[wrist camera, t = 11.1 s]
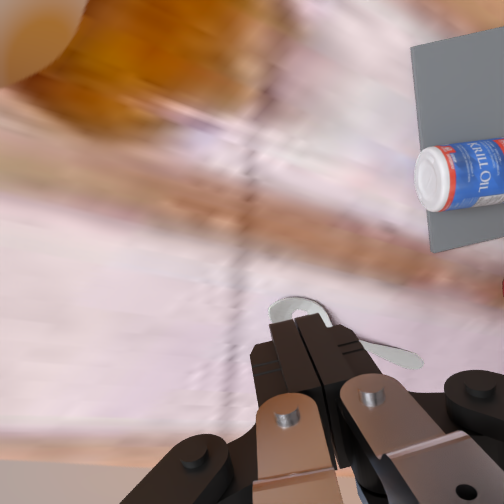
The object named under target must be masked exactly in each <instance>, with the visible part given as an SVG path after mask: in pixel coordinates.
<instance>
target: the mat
mask: <svg viewBox="0 0 504 504" xmlns="http://www.w3.org/2000/svg"><path fill="white" fill-rule="evenodd" d="M411 59H412V69H413V79H414V89H415V99H416V109H417V119H418V129H419V139H420V149H421V151H422V150H424V149H425V148H427V147H432V146H438V145H446V144H454V143H462V142H470V141H477V140H485V139H493V138H501V137H504V26H503V27H499V28H494V29H490V30H485V31H481V32H476V33H472V34H468V35H463V36H459V37H454V38H450V39H445V40H441V41H436V42H432V43H427V44H423V45H418V46H414V47H411ZM427 220H428V230H429V240H430V250H431V252H433V253H437V252H441V251H445V250H449V249H454V248H458V247H462V246H466V245H471V244H475V243H479V242H483V241H488V240H492V239H496V238H500V237H504V203H500V204H493V205H486V206H479V207H471V208H464V209H456V210H449V211H442V212H430V211H428V210H427Z"/></svg>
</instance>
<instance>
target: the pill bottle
mask: <svg viewBox="0 0 504 504" xmlns="http://www.w3.org/2000/svg"><path fill="white" fill-rule="evenodd" d="M414 183H415V189H416V193H417V196H418V198H419V200H420V202H421V204H422V205H423V207H424V208H425V209H426V210H428V211H430V212H442V211H449V210H456V209H464V208H471V207H479V206H486V205H493V204H500V203H504V137H501V138H493V139H485V140H477V141H470V142H462V143H454V144H446V145H438V146H432V147H427V148H425V149H424V150H422V151H421V153H420V154H419V156H418V158H417V161H416V164H415V171H414Z"/></svg>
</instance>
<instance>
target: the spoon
mask: <svg viewBox="0 0 504 504" xmlns="http://www.w3.org/2000/svg"><path fill="white" fill-rule="evenodd" d="M297 309H298V310H303V311H307V313H308V315H310V314H315V313H319V314H320V316H321V318H322V319H323V321H324V323H325V325H326V326H327V327H332V326H333V325H332V323H331V321H330V318H329V316H328V314H327V312H326V311H325V309H324V308H323V307H322V306H321V305H319V304H318V303H316V302H315V301H313V300H309V299H306V298H296V297H293V298H284V299H281V300H279V301H277V302H275V303H273V304H272V305H271V306H270V307H269V309H268V315H269V319H270V321H271V322H272V323H277V322H281V321H285V320H290V319H292V313H293V312H294V311H296V310H297ZM294 323H295V322H294ZM359 342H361V344H362V345H363V347H364V349H365V350H367V351H369V352H371V353H373V354H375V355H377V356H379V357H381V358H383V359H385V360H387V361H390V362H392V363H394V364H396V365H398V366H401V367H403V368H406V369H420V368H422V367H423V365H424V362H423V360H422V359H421V358H420V357H419V356H418V355H417V354H415V353H412V352H409V351H405V350H402V349H397V348H393V347H388V346H383V345H378V344H373V343H369V342H365V341H362V340H359Z"/></svg>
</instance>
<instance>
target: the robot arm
mask: <svg viewBox="0 0 504 504" xmlns="http://www.w3.org/2000/svg"><path fill="white" fill-rule="evenodd" d="M294 321H295V323H294ZM294 321H293V319H290V320H285V321H281V322H277V323H273V324H269V328H270V333H271V337H272V341H269V342H265V343H261V344H256V345H255V346H254V348H253V350H252V352H251V354H250V360H251V365H252V371H253V377H254V383H255V389H256V395H257V400H258V406H259V409H258V411H257V414H256V423H255V425H254V426H253V427H252V428H251V429H250V430H249V431H248V432H247V433H246V434H244V435H243V436H241V437H240V438H238V439H236V440H234V441H232V442H230V443H228V444H226V442H225V441H224V440H223V439H222V438H221V437H219V436H216V435H212V434H200V435H195V436H192V437H189V438H187V439H185V440H183V441H181V442H180V443H178V444H177V445H176V446H174V447H173V448H172V449H171V450H170V451H169V452H168V453H167V454H166V455H165V456H164V457H163V458H162V460H161V461H160V462H159V463H158V464H157V465H156V466H155V467H154V468H153V469H152V470H151V471H150V472H149V473H148V474H147V475H146V476H145V477H144V478H143V480H142V481H141V482H140V483H139V484H138V485H137V486H136V487H135V488H134V489H133V490H132V491H131V492H130V493H129V494H128V495H127V496H126V497H125V498H124V499H123V500H122V502H120V504H343V501H342V496H341V493H340V489H339V485H338V481H337V477H336V473H335V470H337V465H336V460H335V457H336V459H337V462H338V465H339V467H340V469H342V468H346V467H350V466H351V468H352V470H353V473H354V475H355V480H356V486H357V491H358V495H359V497H360V500H361V502H362V503H363V504H504V375H502V374H498V373H494V372H490V371H484V370H468V371H462V372H459V373H456V374H454V375H452V376H451V377H449V378H448V379H447V380H446V382H445V385H444V393H416V392H409V391H407V390H406V389H405V388H404V387H403V386H402V384H401V383H400V382H399V381H397V380H396V379H394V378H392V377H390V376H387V375H383V374H382V373H381V371H380V370H379V368H378V367H377V366H376V364H375V363H374V361H373V360H372V358H371V357H370V355H369V354H368V352H367V351H366V350H365V349H364V347H363V345H362V344H361V342H359V339H358V338H357V336H356V335H355V333H354V332H353V331H352V330H350V329H348V328H346V327H344V326H342V325H336V326H332V327H327V326H326V325H325V323H324V321H323V319H322V318H321V316H320V314H319V313H315V314H310V315H306V316H302V317H298V318H294ZM334 454H335V455H334Z"/></svg>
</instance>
